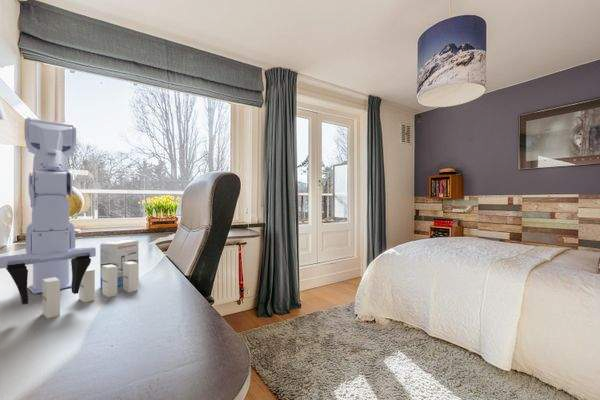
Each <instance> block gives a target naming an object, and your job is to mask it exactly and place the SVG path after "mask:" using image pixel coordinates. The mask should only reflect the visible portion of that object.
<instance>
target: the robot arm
mask: <svg viewBox="0 0 600 400" xmlns="http://www.w3.org/2000/svg"><path fill="white" fill-rule="evenodd" d="M23 127H24V128H23V129H24V132H23V133H24V141H25V145H26V149H27V151H28V152H29V153H31V154H32V155H34V156H33V161H32V162H33V163H32V172H29V175H28V181H27V182H28V183H27V184H28V187H27V188H28V189H27V190H28V195H29V199H30V208H31V209H32V211H31V222H30V223H29V224H28V225H27V226H26V229H25V231H26V233H25V240H24V241H25V247H24V248H25V253H21V254H20V253H19V254H14V255H6V256H5V255H4V256H0V269H6V271H7V273H9V275H10V277H11V278H12V280H13V282H14V283H15V285H16V287H17V290H18V293H19V297H20V303H21V304H22V305H28V304H29V292H28V289H29V290H30V291H31V293H32V294H36V295H37V294H40V293H43V279H47V278H53V277H56V278H57V279H59V280H60V290H62V289H66V288H71V293H72V294H74V295H76V294H79V287H80V284H81V281H82V278H83V276H84V273H85V271H86V270H87V268H89V266H90V265H91V262H92V258H93V257H94V258H95V257H96V256H97V255H96V250H97V249H96V247H95V246H89V247H79V248H78V247H77V248H76V230H75V225H74V222H72V221H71V220H70V200H71V199H72V196H73V176H72V173H71V170H70V169H69V159H68V157H71V156H74V152H75V151H76V146H77V144H76V143H77V127H76V125H75V124H74V123H71V122H70V123H68V122H67V123H66V122H59V121H54V120H53V121H51V120H44V119H37V118H32V117H30V116H29V117H28V116H27V118H25V119H24V125H23ZM67 196H68V197H69V199H68V198H67ZM70 263H71V265H70ZM27 265H32V284H29V285H28V275H29V269H27V267H28V266H27ZM70 266H71V282H70Z"/></svg>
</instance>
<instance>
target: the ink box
mask: <svg viewBox="0 0 600 400" xmlns="http://www.w3.org/2000/svg"><path fill="white" fill-rule="evenodd" d="M99 245H100V246H99V248H100V249H99V260H100V261H99V264H100V265H99V267H100V274H99V275H100V288H102V266H103V265H110V264H112V265H115V266H117V288H118V287H121V286H122V287H123V262H129V261H133V262H136V263H138V264H139V240H137V239H121V240H114V241H106V242H102V243H100V244H99Z"/></svg>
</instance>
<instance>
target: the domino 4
mask: <svg viewBox="0 0 600 400" xmlns="http://www.w3.org/2000/svg"><path fill="white" fill-rule="evenodd" d="M138 281H139V262H138V263H136V262H133V261H129V262H123V285H122V289H123V291H126V292H127V293H132V292H135V291H138V290H139V287H138V286H139V285H138V283H139V282H138Z"/></svg>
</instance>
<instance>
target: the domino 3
mask: <svg viewBox="0 0 600 400" xmlns="http://www.w3.org/2000/svg"><path fill="white" fill-rule="evenodd" d="M101 288H102V289H101V290H102V291H101V292H102V293H101V294H102V296H105V297H107V298H110V297H115V296H118V287H117V266H115V265H112V264H110V265H103V266H102V287H101Z"/></svg>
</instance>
